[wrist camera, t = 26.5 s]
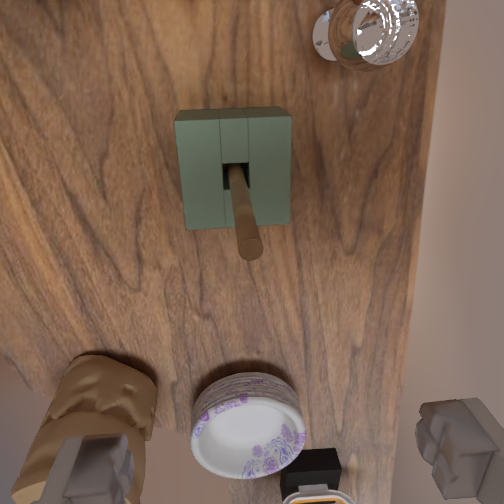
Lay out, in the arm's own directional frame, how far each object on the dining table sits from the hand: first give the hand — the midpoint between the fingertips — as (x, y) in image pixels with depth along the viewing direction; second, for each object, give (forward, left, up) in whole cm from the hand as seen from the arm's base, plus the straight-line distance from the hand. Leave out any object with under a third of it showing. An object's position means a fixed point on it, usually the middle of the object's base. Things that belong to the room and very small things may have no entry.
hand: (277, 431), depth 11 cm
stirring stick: (0, +1, -34) cm, 34 cm away
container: (+18, +31, -34) cm, 49 cm away
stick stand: (0, +1, -34) cm, 34 cm away
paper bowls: (0, +36, -34) cm, 49 cm away
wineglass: (-11, -11, -34) cm, 37 cm away
